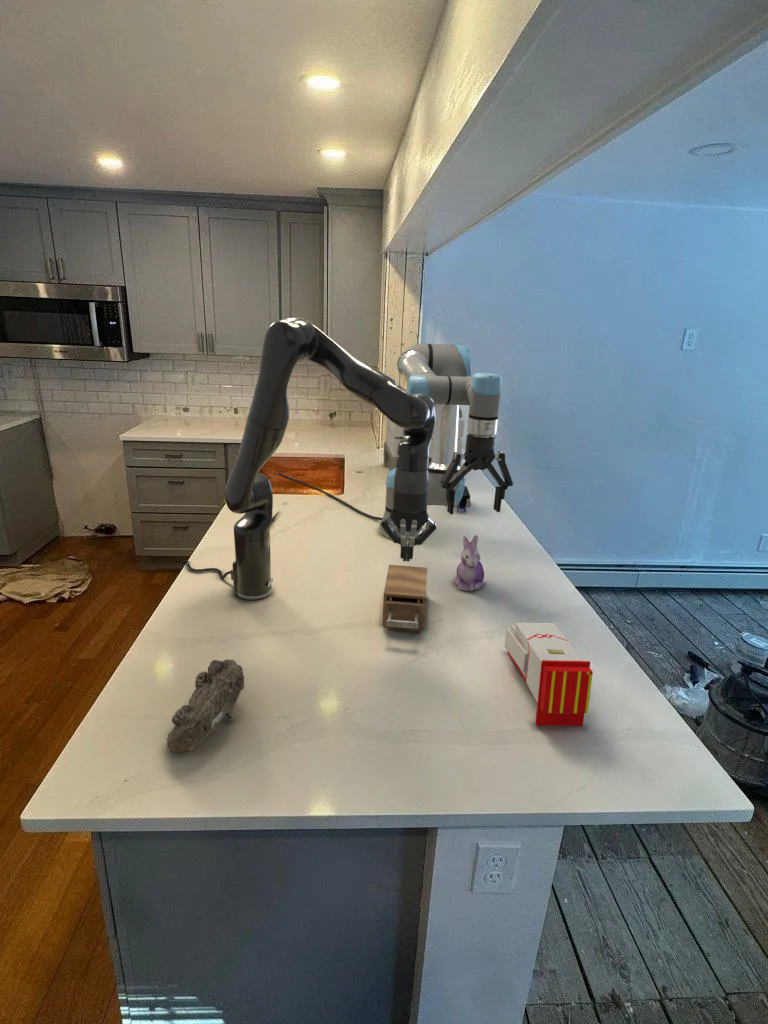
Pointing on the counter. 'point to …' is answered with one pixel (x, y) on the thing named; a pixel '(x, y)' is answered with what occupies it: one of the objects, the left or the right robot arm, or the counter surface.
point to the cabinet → (406, 584)
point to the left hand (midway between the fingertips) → (406, 560)
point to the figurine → (470, 566)
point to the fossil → (206, 705)
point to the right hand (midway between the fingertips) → (473, 511)
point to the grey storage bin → (396, 434)
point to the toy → (551, 672)
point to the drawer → (403, 614)
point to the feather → (274, 517)
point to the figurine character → (464, 500)
